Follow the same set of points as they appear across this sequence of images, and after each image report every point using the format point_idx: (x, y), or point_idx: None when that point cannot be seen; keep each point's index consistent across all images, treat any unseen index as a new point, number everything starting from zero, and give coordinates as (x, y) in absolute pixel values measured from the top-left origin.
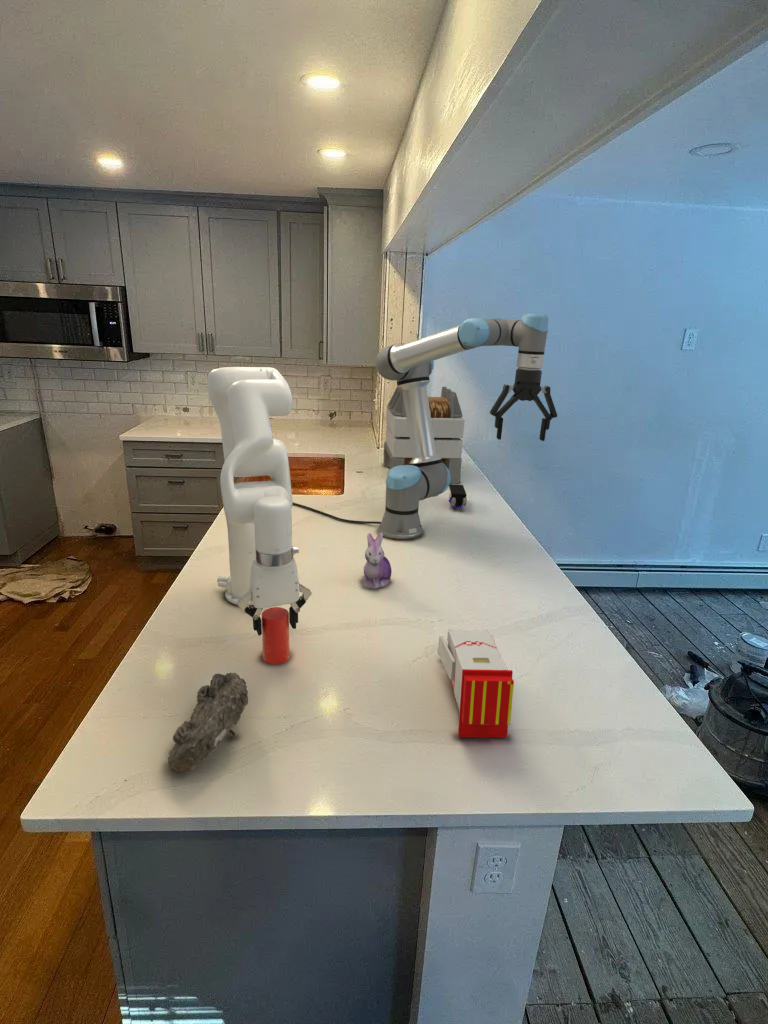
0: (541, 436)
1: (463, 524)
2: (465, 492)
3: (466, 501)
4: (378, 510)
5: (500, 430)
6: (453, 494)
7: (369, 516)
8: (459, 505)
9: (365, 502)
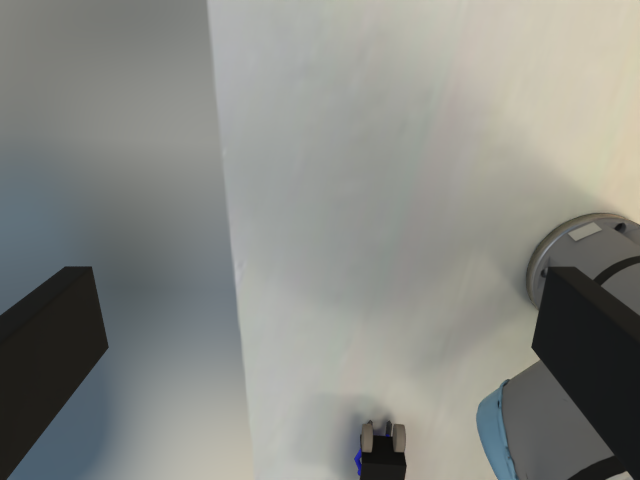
0: (78, 319)
1: (389, 332)
2: (361, 476)
3: (365, 434)
4: None
5: (631, 320)
6: (400, 463)
7: None
8: (375, 435)
9: None
